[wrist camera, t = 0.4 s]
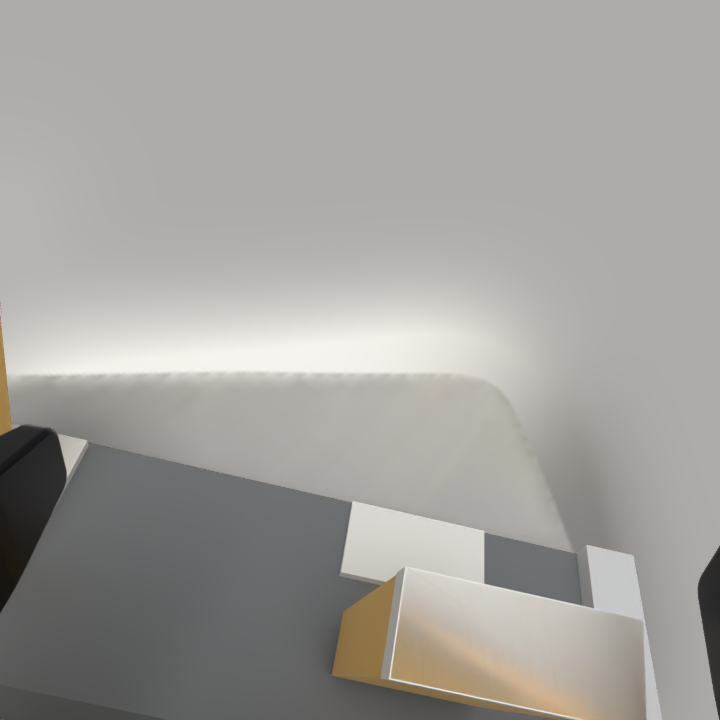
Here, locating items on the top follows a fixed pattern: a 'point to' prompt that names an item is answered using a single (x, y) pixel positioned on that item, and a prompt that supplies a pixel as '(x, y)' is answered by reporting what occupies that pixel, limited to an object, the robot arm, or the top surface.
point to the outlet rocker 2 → (494, 649)
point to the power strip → (241, 597)
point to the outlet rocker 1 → (3, 391)
